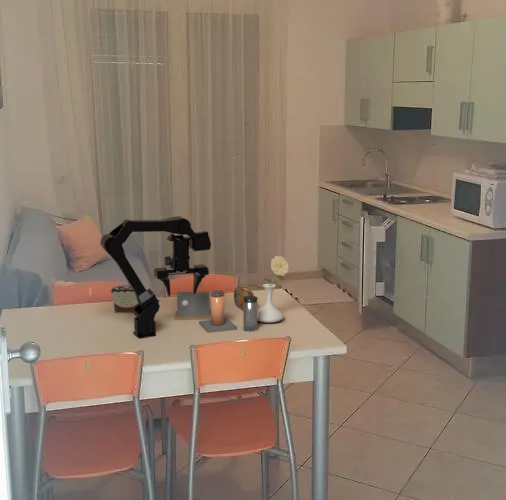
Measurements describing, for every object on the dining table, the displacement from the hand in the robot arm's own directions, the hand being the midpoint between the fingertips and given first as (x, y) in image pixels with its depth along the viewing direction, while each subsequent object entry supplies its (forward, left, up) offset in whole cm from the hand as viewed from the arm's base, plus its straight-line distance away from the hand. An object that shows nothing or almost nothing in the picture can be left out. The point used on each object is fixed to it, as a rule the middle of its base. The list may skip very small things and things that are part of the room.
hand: (181, 295), depth 247 cm
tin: (+32, +13, -13) cm, 37 cm away
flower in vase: (+34, -5, -13) cm, 37 cm away
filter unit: (+10, +13, -13) cm, 21 cm away
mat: (+13, -3, -13) cm, 19 cm away
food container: (-10, +31, -13) cm, 35 cm away
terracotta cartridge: (+13, -3, -12) cm, 18 cm away
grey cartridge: (+22, -11, -13) cm, 28 cm away
